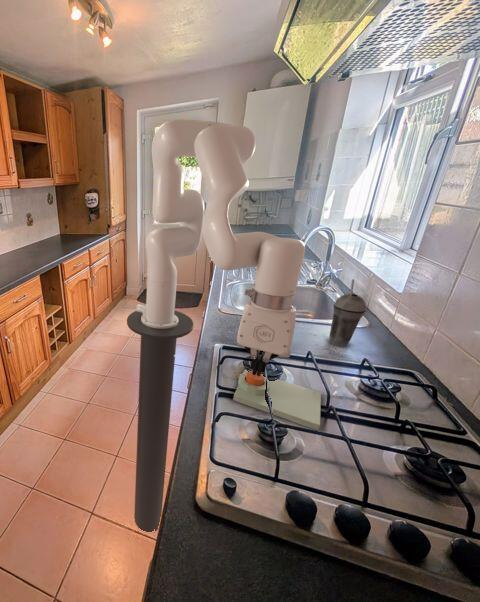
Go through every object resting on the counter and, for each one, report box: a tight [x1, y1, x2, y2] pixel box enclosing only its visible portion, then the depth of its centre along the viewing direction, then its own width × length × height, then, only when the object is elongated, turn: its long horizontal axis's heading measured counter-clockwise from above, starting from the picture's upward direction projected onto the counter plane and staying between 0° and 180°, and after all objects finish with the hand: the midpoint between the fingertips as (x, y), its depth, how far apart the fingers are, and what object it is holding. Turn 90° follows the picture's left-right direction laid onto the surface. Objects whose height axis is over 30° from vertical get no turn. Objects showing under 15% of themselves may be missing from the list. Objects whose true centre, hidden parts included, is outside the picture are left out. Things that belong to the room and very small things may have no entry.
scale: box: [232, 369, 322, 431], centre depth 68 cm, size 16×12×3 cm
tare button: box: [246, 370, 264, 386], centre depth 70 cm, size 4×4×2 cm
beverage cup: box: [328, 278, 367, 348], centre depth 87 cm, size 7×7×20 cm
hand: (257, 372), depth 69 cm, fingers closed
